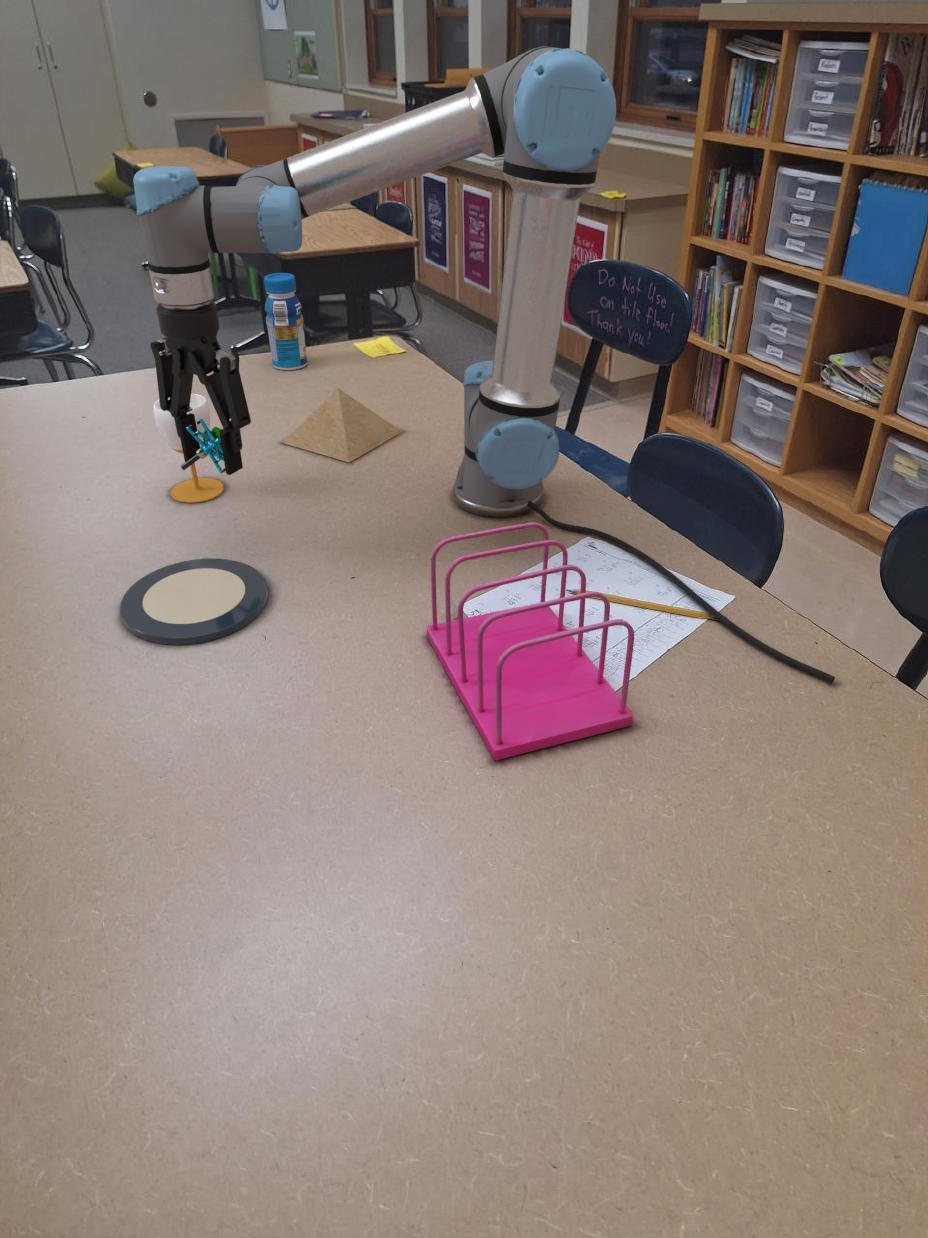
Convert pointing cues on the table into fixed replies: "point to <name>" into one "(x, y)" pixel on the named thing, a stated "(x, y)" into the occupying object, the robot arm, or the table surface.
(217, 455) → the spiky blue green toy
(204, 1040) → the table surface
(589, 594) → the file sorter
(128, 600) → the plate
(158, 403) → the cup
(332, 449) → the model pyramid
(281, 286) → the beverage bottle
